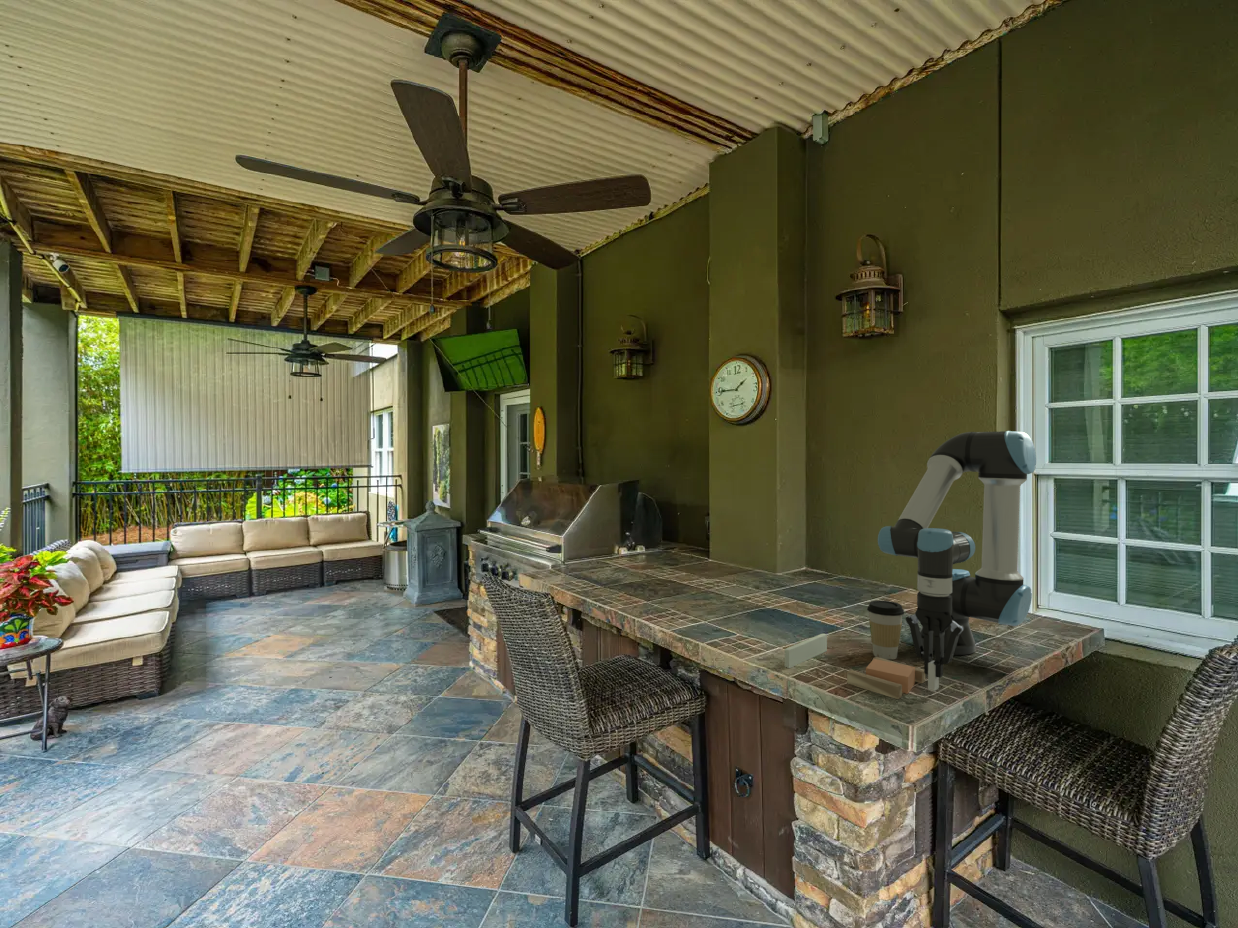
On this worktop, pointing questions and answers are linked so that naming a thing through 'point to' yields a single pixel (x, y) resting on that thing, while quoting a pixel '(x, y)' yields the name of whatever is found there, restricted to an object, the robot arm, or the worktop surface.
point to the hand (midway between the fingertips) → (933, 688)
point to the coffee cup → (885, 628)
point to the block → (893, 673)
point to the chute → (881, 682)
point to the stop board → (805, 650)
